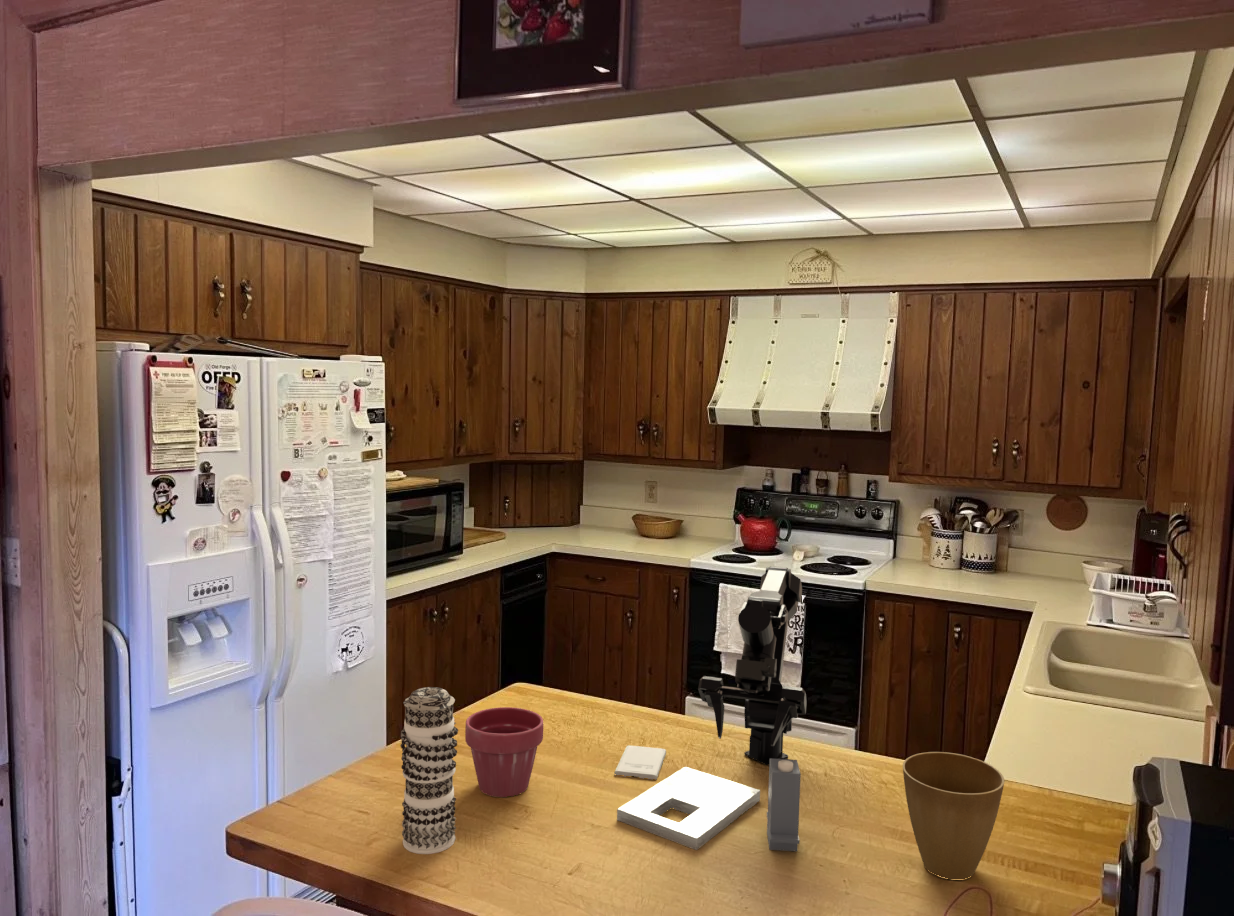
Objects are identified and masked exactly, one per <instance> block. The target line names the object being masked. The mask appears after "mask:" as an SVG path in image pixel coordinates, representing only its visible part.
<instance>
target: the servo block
mask: <svg viewBox="0 0 1234 916" xmlns="http://www.w3.org/2000/svg"><path fill="white" fill-rule="evenodd" d="M768 767H769V771H768V791H767V792H768V793H767V811H766V822H767V823H766V825H767V826H766V835H767V836H768V837H767V843H768V848H769V849H768V850H769V851H772V850H774V851H785V852H786V851H787V852H798V851H799V850H798V849H799V848H798V847H799V845H800V837H799V823H800V800H801V799H800V798H801V775H802V774H801V771H800V766H799V763H798V759H788V758H787V759H772V758H770V762H769V765H768Z"/></svg>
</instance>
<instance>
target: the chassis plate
mask: <svg viewBox="0 0 1234 916" xmlns="http://www.w3.org/2000/svg"><path fill="white" fill-rule="evenodd" d="M760 801H761V789H757V788H755V787H751V786H749V785H748V786H747V785H745V784H742V783H738V782H736V781H732V780H729V779H727V778H724V777H720V776H716V775H713V774H710V773H707V772H704V771H701V770H698V769H694V768H691V767H688V766H684V767H682V768H681V769H679V770H677V771H676V772H674V773H672V774H671V775H670V776H668V777H666V778H664V779H663V780H661V781H660V782H658V783H656V784H654V786H652V787H650V788H648V789H646V790H645V791H644V792H642V793H640V794H639V795H637V796H636V797H634V798H632V799H631V800H629V801H628V802H626V803H624V804H623V805H621V806H619V807H618V808H617V810H616V821H619V822H622V823H623V824H626V825H629V826H631V827H634V828H637V829H639V830H641V831H644V832H647V833H650V834H653V835H656V836H658V837H660V838H663V839H666V840H668V841H671V842H674V843H677V844H679V845H682V846H683V847H684V846H685V847H687V848H690V849H692V850H696V851H698V850H699V849H700V848H701V847H703V846H704V845H705V844H706V843H708V842H709V841H710V840H712V838H713V839H714V837H715V836H717V835H718V834H720V832H721V831H723V830H725V828H727V827H728V826H729V825H730V823H731V824H732V823H733V822H735V821H736V820H737V819H739V818H740V817H741V816H742V815H744V814H745V813H746V812H747V811H748V809H749V808H750V809H752V808H753V807H752V806H755V805H757V804H758V803H759V802H760ZM757 802H758V803H757ZM670 808H671V809H672V808H674V809H673V810H675V809H676V810H675V811H678V810H679V811H678V812H680V811H681V813H683V812H684V814H686V813H687V814H686V815H688V816H687V817H685V818H684V819H683V820H681V821H680V822H678V821H675V820H672V819H669V818H667V817H663V816H662V815H664V814H665V813H666V811H667V810H668V811H669V809H670ZM671 809H670V810H671ZM750 809H749V810H750ZM668 811H667V812H668ZM745 811H746V812H745ZM664 812H665V813H664ZM744 812H745V813H744ZM663 813H664V814H663ZM743 813H744V814H743ZM689 814H690V815H689ZM741 814H742V815H741ZM660 815H661V816H660ZM740 815H741V816H740ZM739 816H740V817H739ZM734 820H735V821H734Z"/></svg>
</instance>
